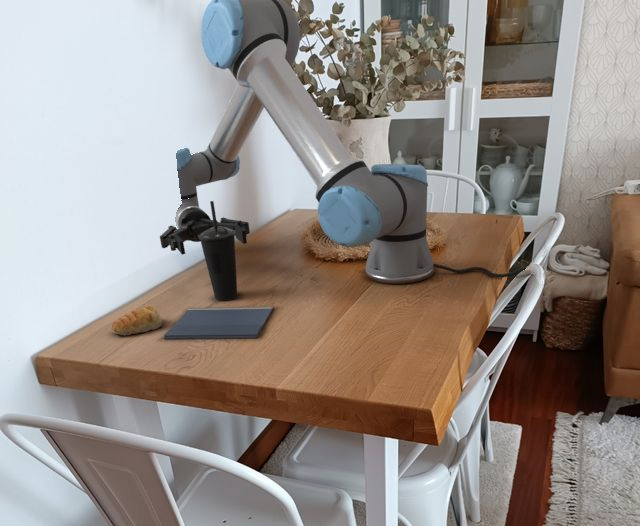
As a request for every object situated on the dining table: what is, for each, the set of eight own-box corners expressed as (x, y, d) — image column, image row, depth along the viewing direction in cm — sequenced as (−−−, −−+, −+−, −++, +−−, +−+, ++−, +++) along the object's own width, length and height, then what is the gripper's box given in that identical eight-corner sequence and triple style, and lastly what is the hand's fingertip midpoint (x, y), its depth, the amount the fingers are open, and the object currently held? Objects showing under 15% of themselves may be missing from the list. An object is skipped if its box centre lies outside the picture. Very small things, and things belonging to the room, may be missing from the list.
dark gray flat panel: (273, 308, 126) (273, 305, 126) (257, 338, 114) (256, 334, 113) (189, 310, 129) (188, 306, 129) (164, 339, 117) (163, 335, 116)
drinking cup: (250, 296, 134) (237, 200, 123) (218, 305, 130) (202, 207, 120) (234, 288, 139) (220, 195, 129) (203, 297, 136) (186, 202, 125)
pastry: (121, 340, 117) (116, 321, 115) (107, 331, 122) (102, 313, 120) (165, 326, 122) (161, 308, 120) (151, 318, 127) (147, 300, 125)
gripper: (245, 230, 155) (271, 250, 138) (144, 247, 148) (159, 270, 131) (240, 199, 151) (267, 215, 134) (137, 215, 144) (151, 234, 127)
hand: (214, 242), depth 132 cm, fingers open, 13 cm apart
